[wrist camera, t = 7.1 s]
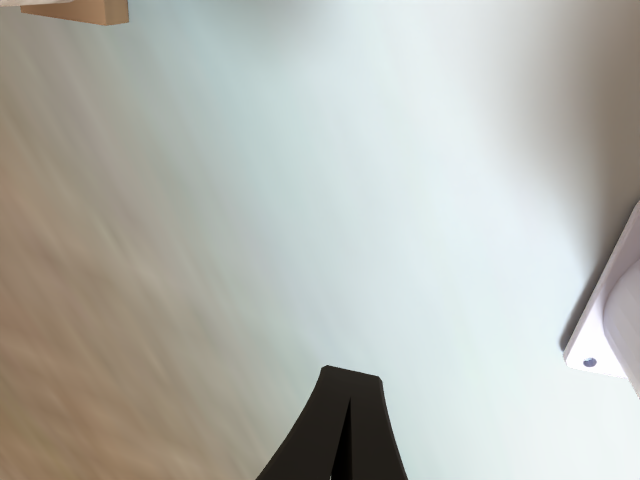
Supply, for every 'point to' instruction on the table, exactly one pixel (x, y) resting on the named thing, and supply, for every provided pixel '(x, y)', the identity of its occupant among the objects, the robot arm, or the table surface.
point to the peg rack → (76, 10)
